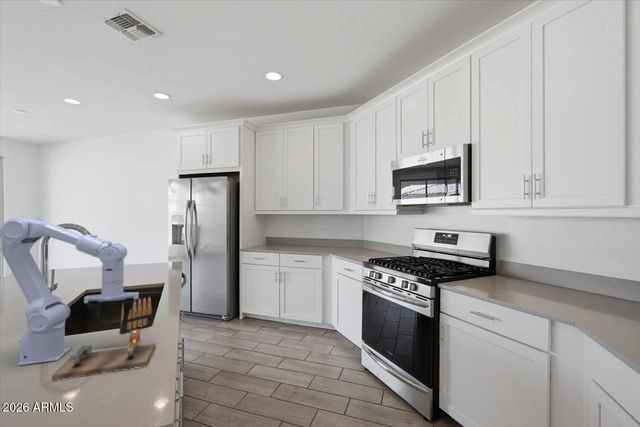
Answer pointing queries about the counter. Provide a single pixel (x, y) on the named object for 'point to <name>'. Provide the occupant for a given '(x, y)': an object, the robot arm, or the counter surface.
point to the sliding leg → (133, 341)
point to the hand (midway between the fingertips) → (111, 322)
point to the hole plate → (103, 364)
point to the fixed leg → (81, 354)
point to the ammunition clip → (137, 317)
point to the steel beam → (112, 351)
